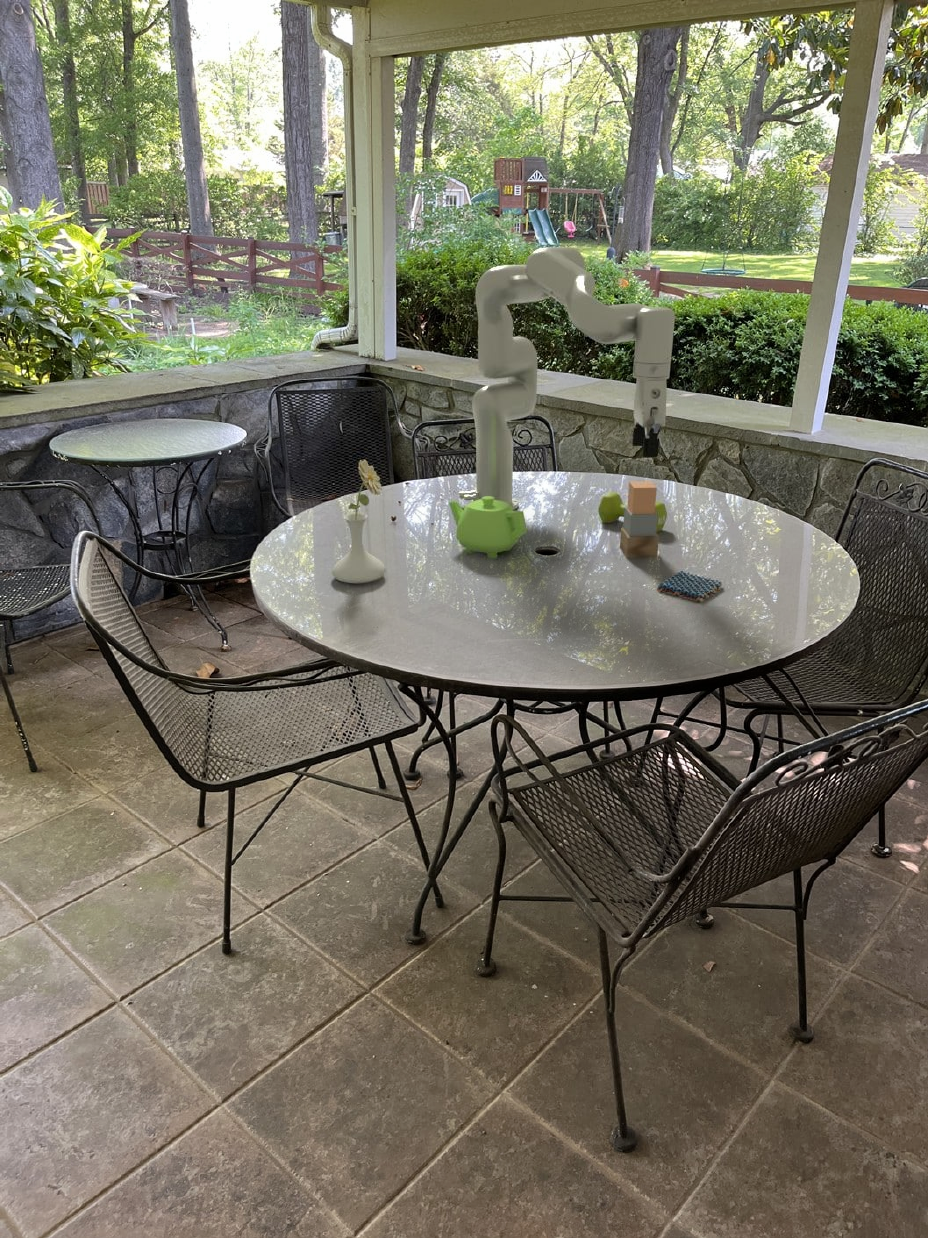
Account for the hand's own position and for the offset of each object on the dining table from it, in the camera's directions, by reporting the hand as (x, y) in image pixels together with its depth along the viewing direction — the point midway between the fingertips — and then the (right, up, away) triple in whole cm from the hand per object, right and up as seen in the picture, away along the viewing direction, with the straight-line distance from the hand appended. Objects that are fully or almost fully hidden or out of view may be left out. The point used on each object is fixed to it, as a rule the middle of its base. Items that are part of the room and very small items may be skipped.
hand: (644, 451), depth 188 cm
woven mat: (+7, -31, -10) cm, 33 cm away
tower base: (0, -21, +10) cm, 24 cm away
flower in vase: (-61, -28, -2) cm, 67 cm away
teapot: (-34, -21, +12) cm, 41 cm away
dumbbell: (+2, -14, +27) cm, 30 cm away
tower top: (0, -17, +8) cm, 19 cm away
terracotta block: (0, -12, +6) cm, 14 cm away
